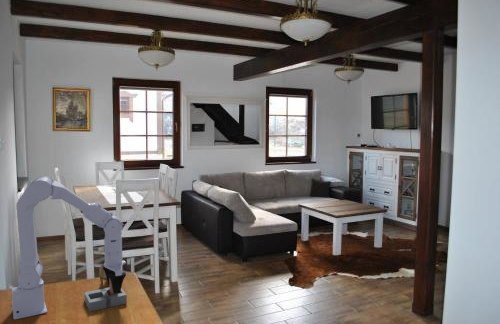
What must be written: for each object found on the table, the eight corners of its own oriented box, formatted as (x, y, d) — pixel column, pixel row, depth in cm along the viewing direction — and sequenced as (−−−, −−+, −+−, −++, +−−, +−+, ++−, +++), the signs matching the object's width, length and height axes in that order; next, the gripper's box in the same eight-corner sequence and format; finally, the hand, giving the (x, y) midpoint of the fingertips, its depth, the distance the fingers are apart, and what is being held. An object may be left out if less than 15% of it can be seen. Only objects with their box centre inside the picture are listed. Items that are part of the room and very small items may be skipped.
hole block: (89, 311, 136) (89, 302, 135) (84, 300, 143) (84, 292, 143) (126, 303, 142) (126, 294, 141) (119, 293, 149) (119, 285, 149)
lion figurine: (112, 289, 153) (111, 266, 152) (96, 290, 152) (96, 266, 151) (118, 274, 167) (117, 252, 166) (104, 274, 166) (104, 253, 165)
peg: (111, 302, 142) (110, 280, 141) (108, 299, 145) (108, 277, 144) (120, 300, 144) (119, 278, 143) (117, 297, 146) (117, 275, 145)
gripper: (130, 255, 138) (131, 294, 140) (119, 243, 150) (120, 279, 152) (109, 258, 134) (110, 298, 136) (99, 246, 147) (100, 282, 148)
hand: (114, 288), depth 144 cm, fingers open, 7 cm apart
